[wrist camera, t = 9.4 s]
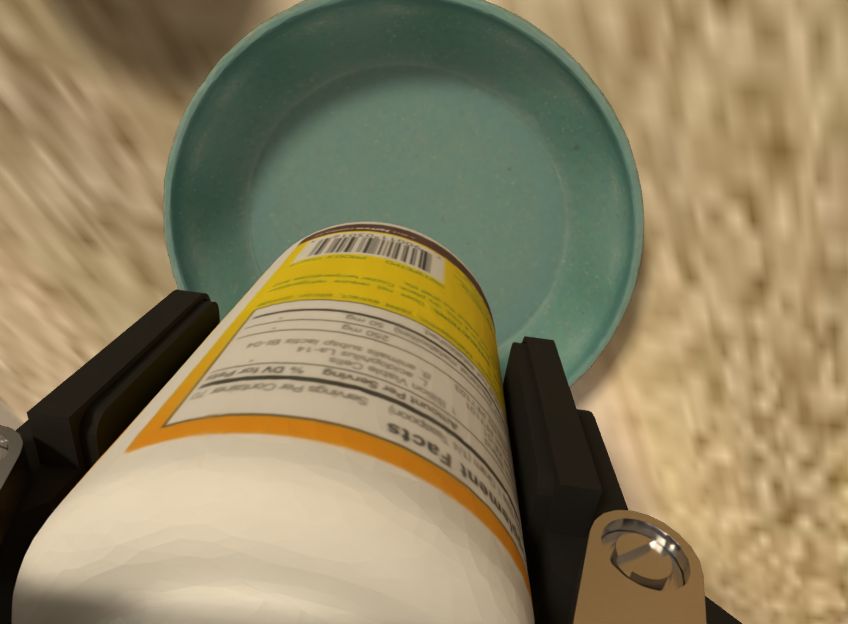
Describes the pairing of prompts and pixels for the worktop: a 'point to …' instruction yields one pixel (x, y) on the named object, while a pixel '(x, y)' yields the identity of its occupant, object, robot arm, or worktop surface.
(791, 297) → the worktop surface
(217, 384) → the supplement bottle
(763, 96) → the worktop surface
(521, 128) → the saucer
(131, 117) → the worktop surface
